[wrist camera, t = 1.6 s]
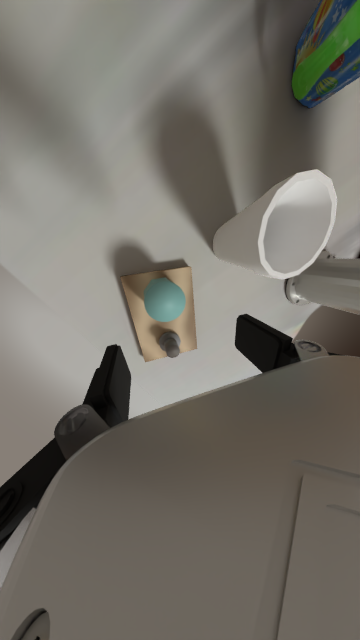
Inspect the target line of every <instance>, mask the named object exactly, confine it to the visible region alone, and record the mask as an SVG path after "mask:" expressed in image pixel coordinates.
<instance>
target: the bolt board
mask: <svg viewBox="0 0 360 640" xmlns="http://www.w3.org/2000/svg"><path fill="white" fill-rule="evenodd" d="M120 278H121V281H122V285H123V288H124V292H125V295H126V298H127V302H128V305H129V309H130V312H131V315H132V319H133V322H134V326H135V329H136V332H137V336H138V339H139V343H140V346H141V349H142V353H143V356H144V360H145V362H148V361H152V360H156V359H160V358H163V357H167V356H168V357H171V358H174V357H176V356H178V355H179V353H183V352H186V351H190V350H194V349H197V341H196V327H195V313H194V299H193V286H192V272H191V267H190V266H187V267H180V268H173V269H167V270H160V271H153V272H146V273H139V274H132V275H126V276H121V277H120ZM158 278H167V279H168V280H169V281H171V282H173V283H175V284H176V285H178V286H179V287H180V288H181V289H182V291H183V292H184V294H185V299H186V304H185V308H184V310H183V312H182V313H181V315H180V316H179V317H177V318H176V319H174V320H172V321H169V322H160V321H157V320H155V319H153V318H151V317H150V316H149V315H148V313H147V312H146V309H145V305H144V290H145V288H146V287H147V285H148V284H149V283H150V281H151V280H152V279H158Z"/></svg>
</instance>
